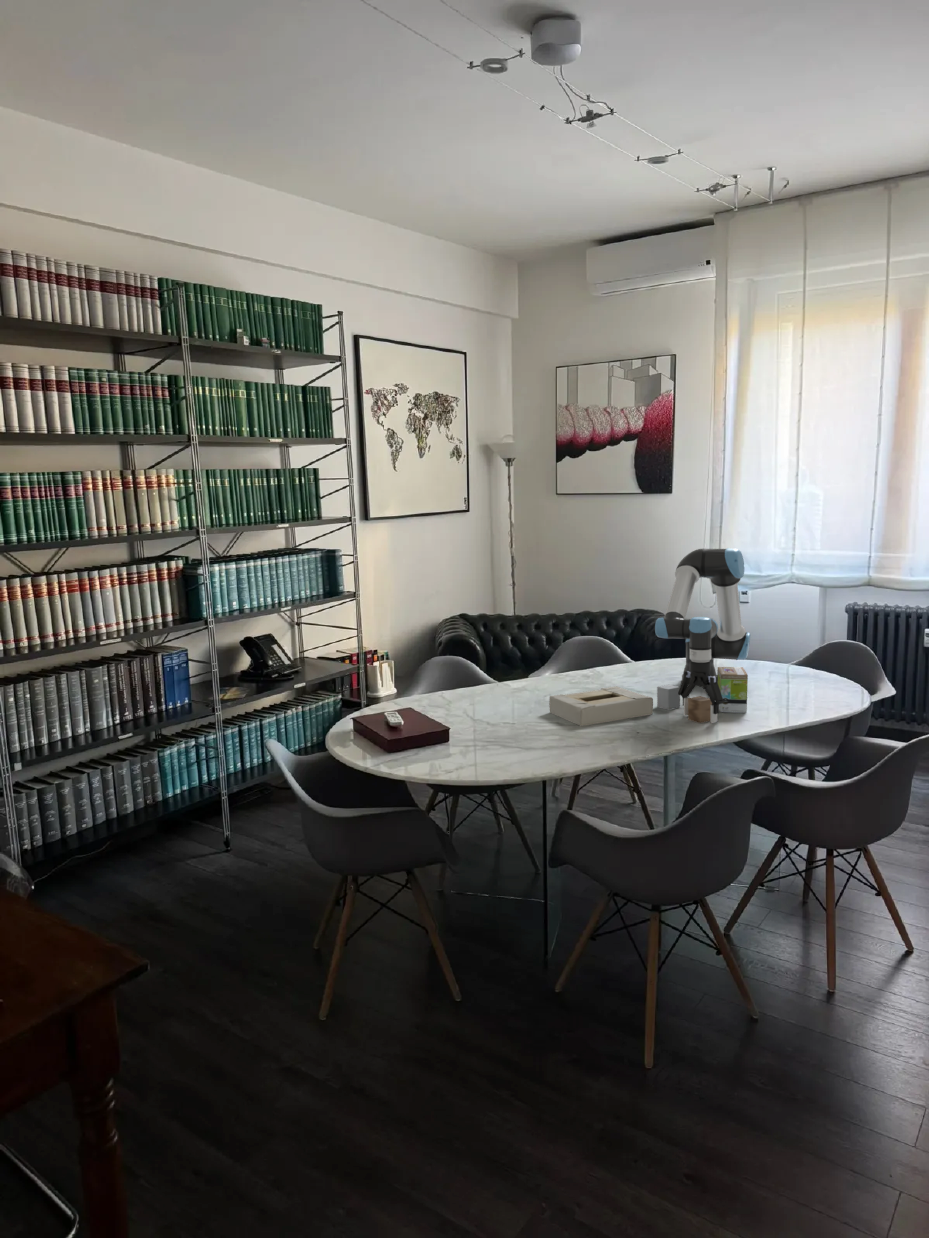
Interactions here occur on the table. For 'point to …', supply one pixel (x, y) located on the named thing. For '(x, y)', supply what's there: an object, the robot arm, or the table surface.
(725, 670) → the tea box
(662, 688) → the slate block
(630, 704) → the box
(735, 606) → the robot arm
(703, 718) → the walnut block
